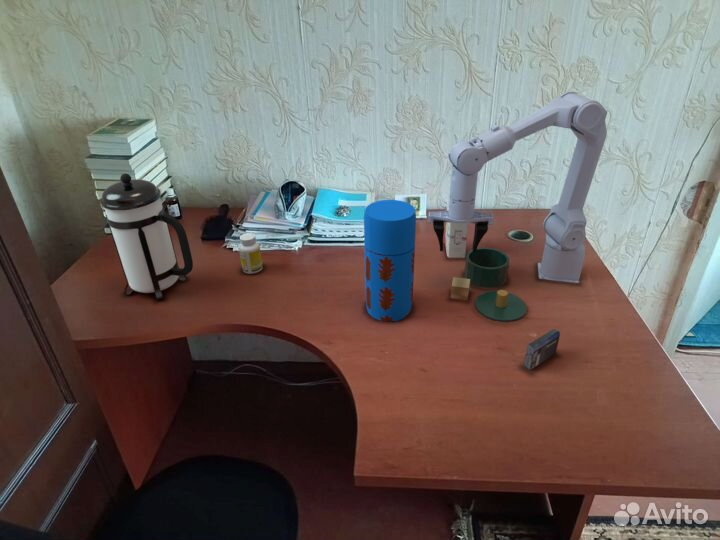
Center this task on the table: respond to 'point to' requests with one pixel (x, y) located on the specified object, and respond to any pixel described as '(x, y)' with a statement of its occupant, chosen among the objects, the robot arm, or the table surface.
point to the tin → (486, 267)
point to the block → (460, 288)
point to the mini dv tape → (541, 349)
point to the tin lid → (500, 306)
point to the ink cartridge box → (456, 239)
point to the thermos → (389, 258)
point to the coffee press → (144, 236)
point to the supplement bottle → (250, 254)
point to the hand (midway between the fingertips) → (457, 249)
